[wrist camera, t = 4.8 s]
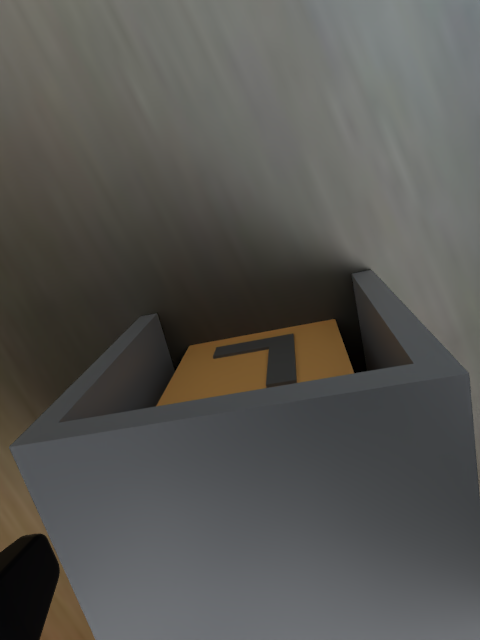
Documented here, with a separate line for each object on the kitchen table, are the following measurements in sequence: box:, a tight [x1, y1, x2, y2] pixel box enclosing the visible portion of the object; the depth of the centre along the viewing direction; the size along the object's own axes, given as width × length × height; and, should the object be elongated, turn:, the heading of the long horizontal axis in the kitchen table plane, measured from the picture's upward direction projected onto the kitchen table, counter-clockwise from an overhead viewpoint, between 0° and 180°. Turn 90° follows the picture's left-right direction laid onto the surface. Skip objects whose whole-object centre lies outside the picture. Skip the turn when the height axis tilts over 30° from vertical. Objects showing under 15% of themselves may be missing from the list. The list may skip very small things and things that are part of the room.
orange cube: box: [156, 319, 354, 406], centre depth 10 cm, size 4×4×4 cm
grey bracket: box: [9, 270, 480, 640], centre depth 9 cm, size 6×6×6 cm
